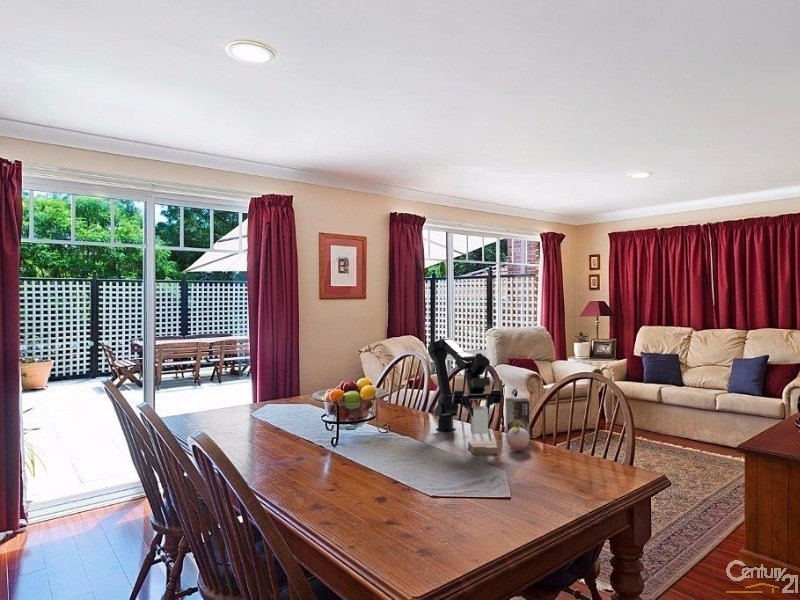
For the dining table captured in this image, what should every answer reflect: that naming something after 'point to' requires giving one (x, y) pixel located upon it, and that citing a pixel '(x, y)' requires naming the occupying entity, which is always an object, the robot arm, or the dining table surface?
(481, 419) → the tea tin
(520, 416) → the coffee box
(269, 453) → the dining table surface
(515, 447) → the decorative fruit
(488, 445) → the plinth
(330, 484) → the dining table surface
